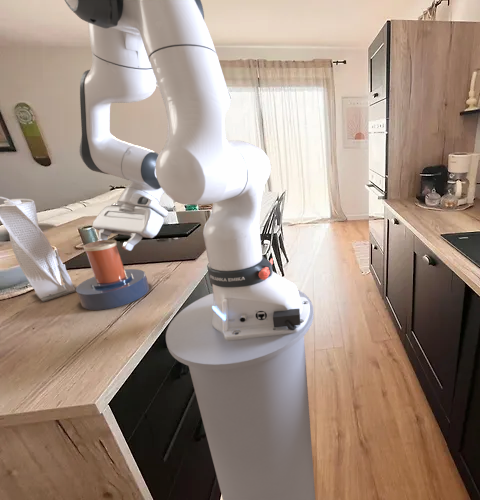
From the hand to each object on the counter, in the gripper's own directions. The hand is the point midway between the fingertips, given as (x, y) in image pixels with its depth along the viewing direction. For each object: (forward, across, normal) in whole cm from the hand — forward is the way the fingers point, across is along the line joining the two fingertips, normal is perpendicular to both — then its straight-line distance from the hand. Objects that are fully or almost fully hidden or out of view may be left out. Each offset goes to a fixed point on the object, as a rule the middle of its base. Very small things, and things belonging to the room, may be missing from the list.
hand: (112, 247), depth 78 cm
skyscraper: (+15, -19, +4) cm, 24 cm away
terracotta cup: (+8, 0, +4) cm, 8 cm away
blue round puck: (+11, 0, +8) cm, 13 cm away
